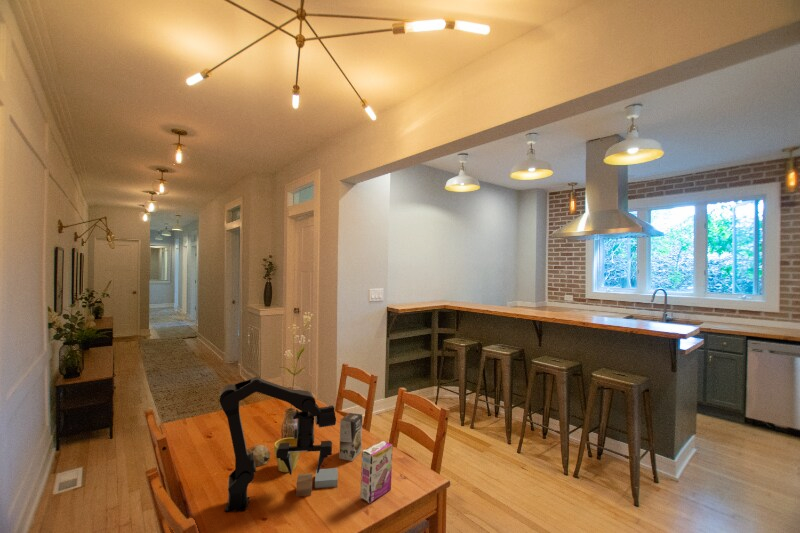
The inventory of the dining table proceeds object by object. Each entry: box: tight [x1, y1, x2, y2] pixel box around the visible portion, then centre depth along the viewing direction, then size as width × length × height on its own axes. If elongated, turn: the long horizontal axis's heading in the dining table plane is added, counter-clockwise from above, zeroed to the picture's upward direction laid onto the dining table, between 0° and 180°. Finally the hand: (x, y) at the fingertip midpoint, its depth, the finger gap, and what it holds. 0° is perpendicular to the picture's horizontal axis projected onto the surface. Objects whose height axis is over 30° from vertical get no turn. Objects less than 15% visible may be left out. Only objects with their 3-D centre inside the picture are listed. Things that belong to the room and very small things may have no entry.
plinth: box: [314, 467, 339, 489], centre depth 137 cm, size 8×8×2 cm
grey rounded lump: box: [247, 444, 271, 467], centre depth 151 cm, size 10×10×8 cm
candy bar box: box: [360, 440, 393, 505], centre depth 130 cm, size 11×5×16 cm, turn 141°
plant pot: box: [273, 437, 301, 473], centre depth 146 cm, size 10×10×10 cm
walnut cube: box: [295, 472, 313, 497], centre depth 130 cm, size 5×5×5 cm
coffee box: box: [338, 412, 363, 462], centre depth 157 cm, size 9×6×16 cm
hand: (304, 473), depth 130 cm, fingers open, 9 cm apart
